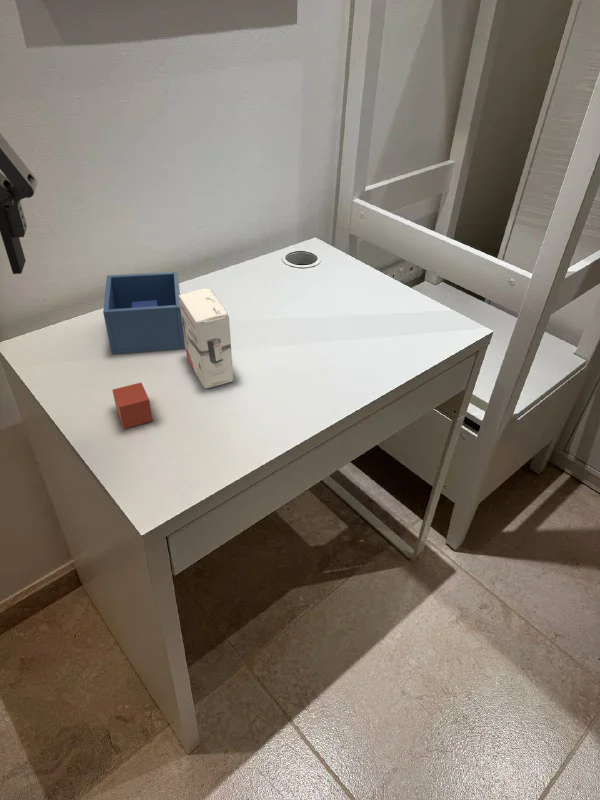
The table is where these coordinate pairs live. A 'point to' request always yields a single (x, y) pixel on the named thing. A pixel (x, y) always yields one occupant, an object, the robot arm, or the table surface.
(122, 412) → the terracotta block
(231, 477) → the table surface
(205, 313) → the ink box
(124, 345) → the blue bin
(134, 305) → the blue block
